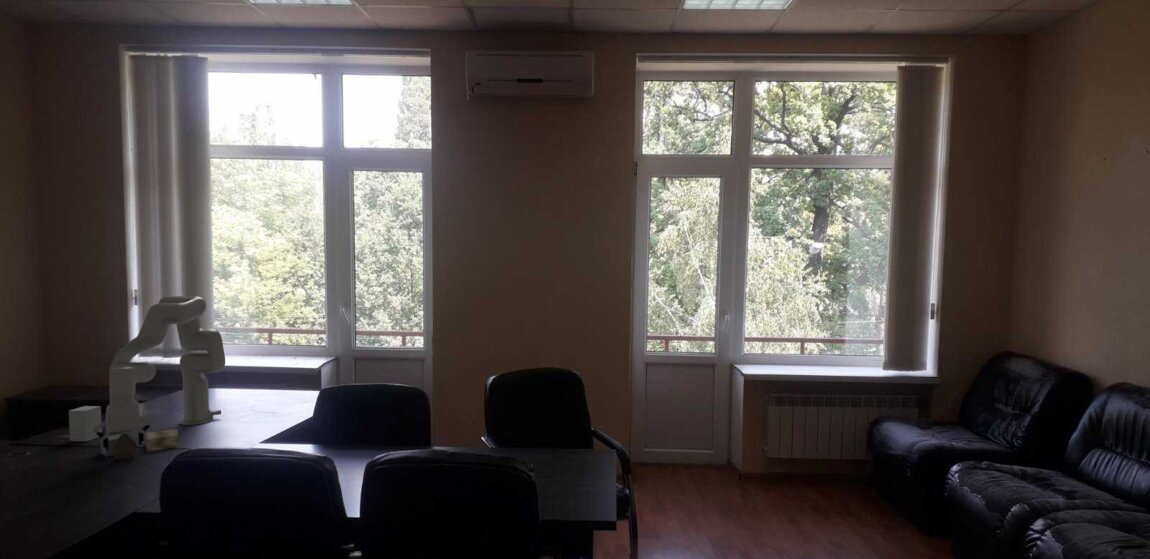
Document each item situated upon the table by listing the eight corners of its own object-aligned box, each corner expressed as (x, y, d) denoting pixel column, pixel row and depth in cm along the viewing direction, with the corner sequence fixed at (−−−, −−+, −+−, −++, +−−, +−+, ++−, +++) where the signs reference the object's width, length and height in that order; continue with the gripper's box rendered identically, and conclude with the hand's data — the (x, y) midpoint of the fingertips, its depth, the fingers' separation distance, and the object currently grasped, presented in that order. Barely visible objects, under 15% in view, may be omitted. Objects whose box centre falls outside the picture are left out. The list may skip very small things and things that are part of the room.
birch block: (177, 440, 234) (177, 428, 234) (178, 447, 226) (177, 435, 226) (147, 445, 228) (146, 432, 228) (146, 452, 220) (145, 439, 220)
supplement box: (102, 436, 238) (101, 406, 238) (85, 442, 231) (84, 410, 230) (86, 435, 239) (85, 405, 239) (69, 441, 232) (68, 410, 231)
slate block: (120, 449, 223) (119, 433, 223) (126, 452, 220) (125, 436, 219) (101, 453, 218) (100, 437, 218) (106, 456, 215) (106, 441, 214)
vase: (141, 456, 215) (140, 433, 215) (121, 462, 209) (120, 438, 208) (128, 454, 218) (127, 431, 217) (108, 460, 211) (107, 436, 211)
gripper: (151, 394, 221) (152, 439, 221) (92, 401, 209) (93, 448, 210) (152, 398, 215) (153, 444, 215) (92, 405, 204) (93, 453, 204)
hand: (123, 446), depth 213 cm, fingers open, 9 cm apart
